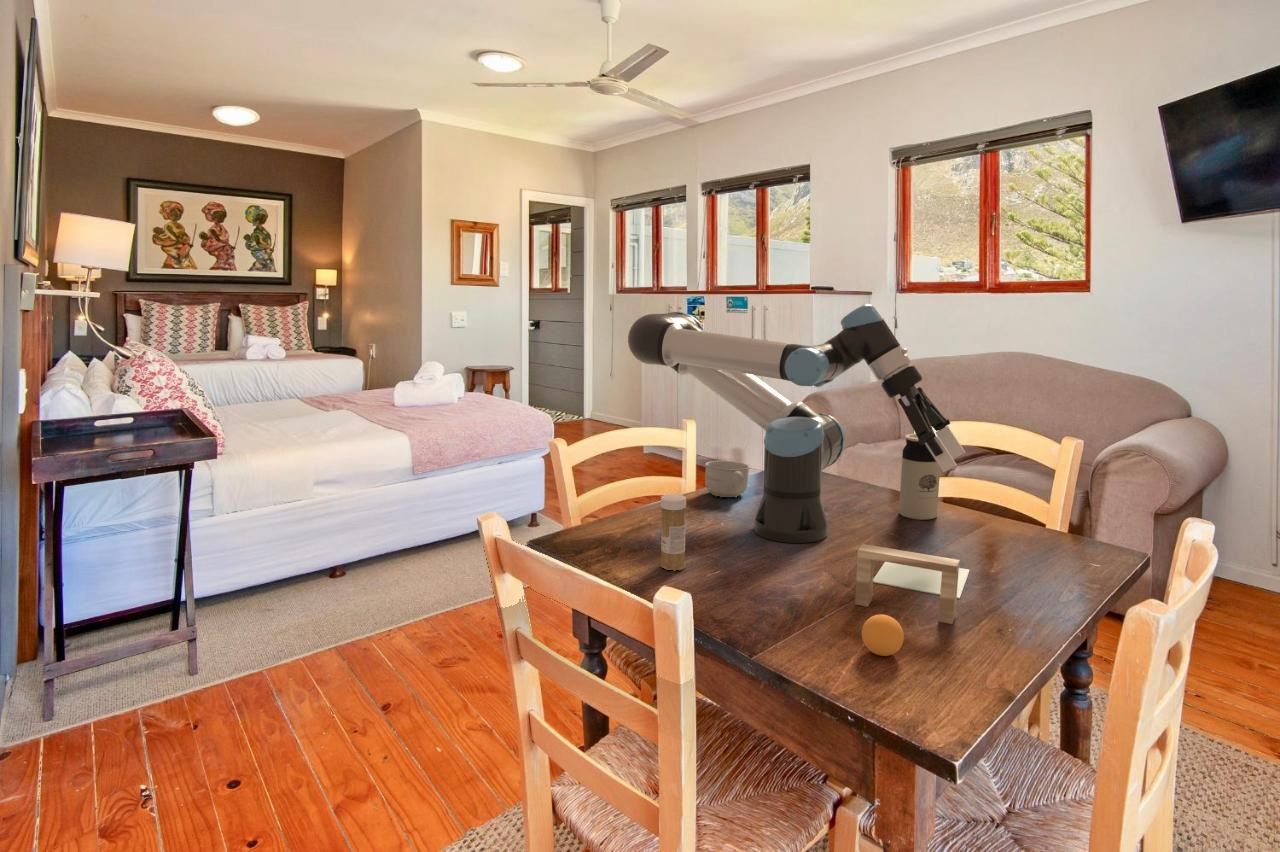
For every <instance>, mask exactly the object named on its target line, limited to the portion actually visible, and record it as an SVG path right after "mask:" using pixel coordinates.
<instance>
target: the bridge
mask: <svg viewBox="0 0 1280 852" xmlns="http://www.w3.org/2000/svg"><path fill="white" fill-rule="evenodd" d="M875 561H880V562H884V563H885V562H890V563H896V564H901V565H907V566H913V567H919V568H924V569H930V570H936V571H941V572H942V577H941V590H940V595H939V604H938V606H939V607H938V619H937V622H939V623H944V624H949V625H953V623H954V621H955V619H956V609H957V599H958V598H957V586H958V573H959V568H960V559H955V558H950V557H943V556H938V555H937V556H936V555H930V554H925V553H919V552H915V551H913V552H912V551H906V550H902V549H901V550H900V549H896V548H890V547H889V548H888V547H882V546H879V545H878V546H877V545H872V544H864V543H862V544H861V545H860V547H859V548H858V549H857V562H856V580H855V582H856V583H855V596H854V597H855V598H854V605H857V606H862V607H867V608H868V607H869V606H870V604H871V602H872V601H873V594H874V593H873V590H874V582H873V579H874V577H875V576H874V574H875Z"/></svg>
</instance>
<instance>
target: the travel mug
mask: <svg viewBox="0 0 1280 852" xmlns="http://www.w3.org/2000/svg"><path fill="white" fill-rule="evenodd" d="M935 436H936V437H937V435H935ZM904 438H905V443H906V444H905V445H904V447H903V449H902V456H901V471H900V488H899V490H900V491H899V503H898V504H899V505H898V507H899V508H898V514H900V515H901V516H902V517H905V518H906V519H911V520H917V521H928V520H929V521H930V520H933V519H935V518H936V517H937V516H938V505H939V492H940V490H939V489H940V479H941V478H940V477H941V468H940V466H939V465H938V463H937V462H936V460H935V459H934V457H933V456H932V454H931V453H930V451H929V450H928V448H927V446H926V445H925V443H924V444H923V445H920V444H919V442H918V441H919V440H918V437H917V435H916V433H908V434H906V435H905V436H904Z"/></svg>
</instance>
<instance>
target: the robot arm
mask: <svg viewBox="0 0 1280 852" xmlns="http://www.w3.org/2000/svg"><path fill="white" fill-rule="evenodd" d="M840 326H841V327H842V330H841V331H839V332H838V334H836V335H835V336H833V337H831V338H830V339H828V340H827V341H825V342H824V343H821V344H816V345H804V344H797V343H788V342H781V341H775V340H766V339H760V338H751V337H745V336H738V335H730V334H722V333H715V332H708V331H705V330H704V327H703V325H702V324H701V322H700V321H699V320H698V319H697V318H696V317H694V316H693V315H691V314H689V313H683V312H680V311H674V312H673V311H672V312H671V311H670V312H668V313H649V314H645V315H643V316H640V317H639V318H638V319H636V320H635V321H634V322H633V323H632V326H631V327H630V329H629V331H628V336H627V343H628V348H629V351H630V352H631V354H632V355H633V357H634V358H636V360H638V361H639V362H641V363H644V364H646V365H658V366H666V367H669V368H671V369H673V370H674V371H675V372H676V373H678V375H680V376H686V375H691V376H692V377H694V378H695V379H696V380H697V381H699V382H700V383H701V384H703V386H706V387H707V388H708V389H710V390H711V391H712V392H714V393H715V394H716V395H717V396H719V397H720V398H722V399H723V400H724V401H725V402H727V403H728V404H729V405H731V406H732V407H734V408H735V409H736V410H737V411H738V412H740V413H742V414H743V415H744V416H745V417H747V418H748V419H750V420H751V421H752V422H753V423H755V424H756V425H757V426H758V427H760V428H761V429H762V430H764V431H765V435H764V439H763V443H764V445H763V446H764V451H763V452H764V457H763V460H764V461H763V462H764V463H763V465H764V466H763V494H762V498H761V500H760V503H759V505H758V508H757V512H756V514H755V517H754V521H753V522H754V523H753V525H754V526H753V531H754V533H756V535H758V536H759V537H762V538H764V539H768V540H771V541H775V542H781V543H790V544H803V543H804V544H806V543H813V542H819V541H821V540H824V539H825V538H827V537H828V534H829V522H828V518H827V514H826V511H825V508H824V504H823V501H822V476H823V475H822V473H823V470H825V469H826V468H828V467H831V466H832V465H833V464H835V463H836V462H838V460H839V458H840V457H841V456H842V455H843V452H844V450H845V448H846V443H847V441H846V440H847V439H846V433H845V430H844V427H843V426H842V424H841V423H840V422H839V420H838V419H836V418H835V417H834V416H832V415H830V414H826V413H823V412H819V413H818V412H817V411H816V410H814V409H813V408H812V407H810V406H808V405H807V404H806V403H805V402H802V401H800V402H792V401H790V400H789V399H788V398H786V397H785V396H783V395H782V394H780V392H778V391H776V390H775V389H774V388H773V387H771V386H769V385H768V384H767V383H766V382H764V381H762V379H760V378H759V377H765V378H772V379H776V380H777V379H778V380H783V381H787V382H791V383H793V384H795V385H797V386H799V387H813V386H814V387H815V388H821V387H823V386H824V385H826V384H828V383H829V384H830V383H831V382H833V381H834V380H835V379H836V378H837V377H839V376H841V375H842V374H843V373H845V372H847V371H848V370H849V369H851V368H852V367H854V366H855V365H857V364H860V363H861V362H862V361H864V362H865V363H866V364H867V366H868V368H869V369H870V371H871V373H872V374H873V375H874V377H875V379H876V380H877V381H878V382H882V383H881V385H880V386H881V388H882V389H883V391H884V392H885V394H886V395H887V397H888V398H890V399H893V398H895V397H897V396H898V395H899V396H900V398H898V399H897V401H898V404H899V405H900V406H901V408H902V410H903V411H904V413H905V415H906V417H907V419H908V421H909V424H910V426H911V427H912V429H913V431H914V434H916V435H917V437H918V440H919V441H918V442H919V444H920V445H923V444H924V443H925V445H926V446H927V448H928V450H929V451H930V453H931V454H932V456H933V457H934V459H935V460H936V462H937V463H938V465H939V466H940V470H942V472H943V473H945V472H948V471H949V470H950V469H953V468H955V467H956V466H957V465H958V464H957V463H956V461H955V459H956V458H958V457H960V456H962V455H964V454H965V453H966V451H965V449H964V448H963V447H962V445H961V444H960V442H959V440H958V439H957V438H956V436H955V434H954V433H953V432H952V430H951V429H950V427H949V425H950V424H951V422H950V420H949V419H947V418H946V417H945V416H944V415H943V414H942V413H941V412H940V410H938V408H937V407H936V405H935V404H934V403H933V402H932V400H931V399H930V398H929V396H927V394H926V393H925V391H924V389H923V388H922V387H921V386H919V387H916V386H915V385H917V384H918V383H920V382H921V381H922V380H923V377H922V375H921V374H920V372H919V370H918V368H917V367H916V366H915V365H913V364H911V359H910V358H909V356H908V355H907V354H906V353H908V349H907V348H903V347H902V345H901V344H900V343H899V341H898V339H897V338H896V337H895V334H894V333H893V332H892V330H891V328H890V327H889V325H888V324H887V323H886V320H885V319H884V318H883V317H882V316H881V314H880V313H879V312H878V310H877V309H876V307H874V305H873V304H870V303H865V304H862V305H861V306H859V307H856V308H855V309H854V310H853V309H852V311H850V312H849V313H847V314H846V315H845V316H844V317H843V318H842V319H840ZM910 364H911V365H910ZM757 376H759V377H757ZM936 436H937V437H936Z"/></svg>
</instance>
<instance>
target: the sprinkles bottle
mask: <svg viewBox="0 0 1280 852" xmlns="http://www.w3.org/2000/svg"><path fill="white" fill-rule="evenodd" d="M660 508H661V526H660V527H661V529H660V531H661V535H660V536H661V537H660V538H661V540H660V541H661V542H660V551H661V561H660V567H662V568H664V569H666V570H665V571H667V570H673V571H672V572H677V571H676V570H679V571H682V570H684V569H685V568H686V563H685V556H686V555H685V552H686V508H687V497H686V496H684V495H682V494H679V493H667V494H664V495H661V497H660ZM662 568H661V569H662ZM664 569H663V570H664Z"/></svg>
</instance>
